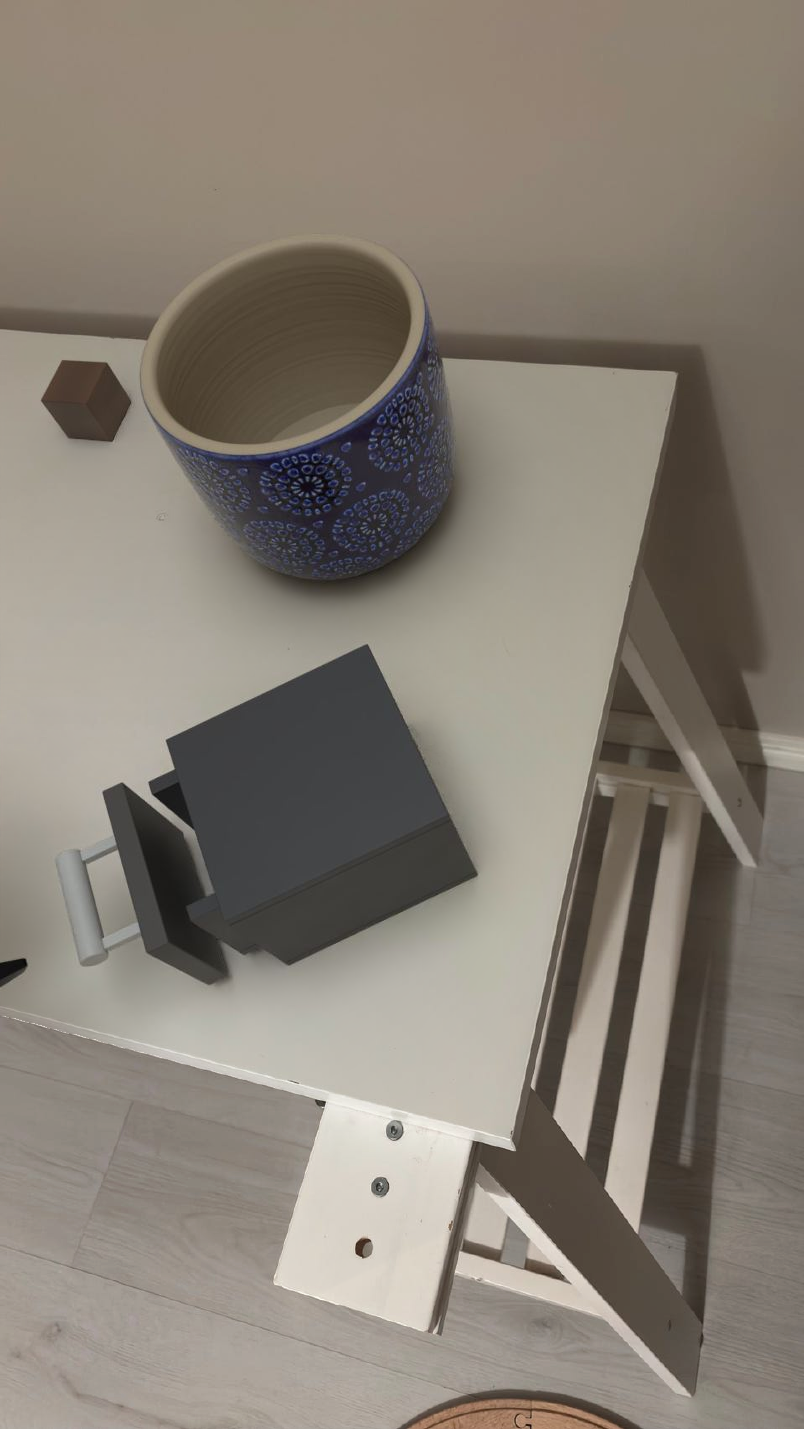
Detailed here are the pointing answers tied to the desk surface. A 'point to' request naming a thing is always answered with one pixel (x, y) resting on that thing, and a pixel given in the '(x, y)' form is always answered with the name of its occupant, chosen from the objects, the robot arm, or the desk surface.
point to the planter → (307, 403)
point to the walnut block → (86, 400)
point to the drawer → (150, 888)
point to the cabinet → (316, 810)
